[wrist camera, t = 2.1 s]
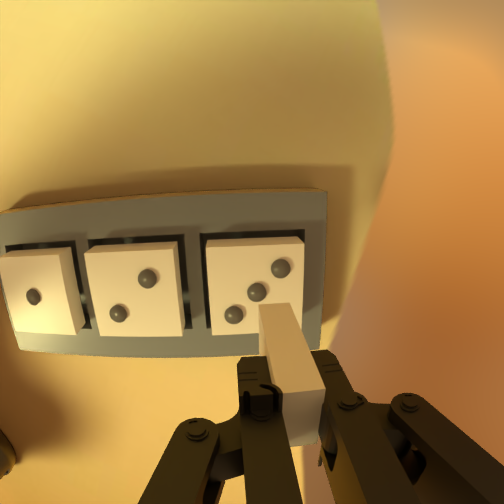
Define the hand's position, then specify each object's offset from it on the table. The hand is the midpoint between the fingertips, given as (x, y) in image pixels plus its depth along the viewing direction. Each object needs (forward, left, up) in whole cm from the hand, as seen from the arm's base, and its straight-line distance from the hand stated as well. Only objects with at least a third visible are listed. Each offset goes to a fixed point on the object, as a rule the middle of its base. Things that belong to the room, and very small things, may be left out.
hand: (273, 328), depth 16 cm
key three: (0, 0, -7) cm, 7 cm away
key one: (-16, 0, -7) cm, 18 cm away
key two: (-8, 0, -7) cm, 11 cm away
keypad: (-8, 0, -10) cm, 13 cm away
